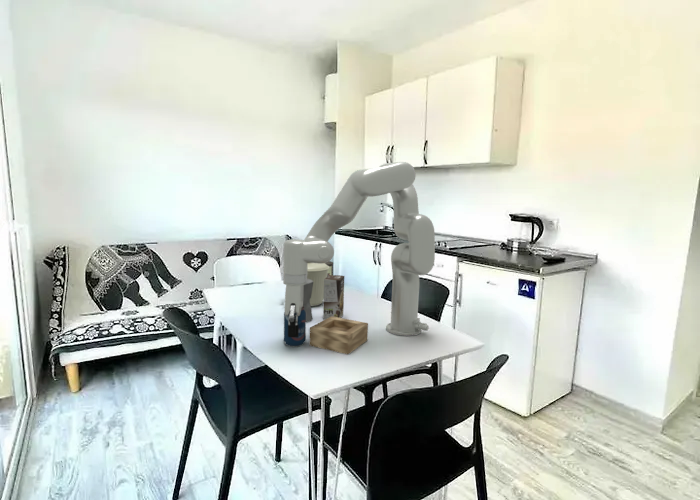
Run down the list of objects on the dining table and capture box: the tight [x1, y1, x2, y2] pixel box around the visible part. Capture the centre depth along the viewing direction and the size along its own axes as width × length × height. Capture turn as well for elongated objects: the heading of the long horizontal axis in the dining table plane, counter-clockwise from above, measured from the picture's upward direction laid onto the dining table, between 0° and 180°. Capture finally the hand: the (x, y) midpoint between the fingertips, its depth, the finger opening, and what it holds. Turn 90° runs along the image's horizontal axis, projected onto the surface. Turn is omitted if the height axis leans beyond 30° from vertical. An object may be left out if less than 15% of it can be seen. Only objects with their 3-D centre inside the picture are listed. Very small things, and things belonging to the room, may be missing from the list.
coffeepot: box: [303, 279, 314, 323], centre depth 157 cm, size 15×9×18 cm, turn 176°
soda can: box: [283, 307, 307, 348], centre depth 134 cm, size 7×7×12 cm
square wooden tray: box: [309, 316, 369, 355], centre depth 136 cm, size 14×14×6 cm
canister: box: [307, 262, 329, 307], centre depth 180 cm, size 18×18×21 cm
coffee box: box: [322, 274, 345, 321], centre depth 162 cm, size 9×6×16 cm
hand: (294, 332), depth 134 cm, fingers closed on soda can, 7 cm apart
